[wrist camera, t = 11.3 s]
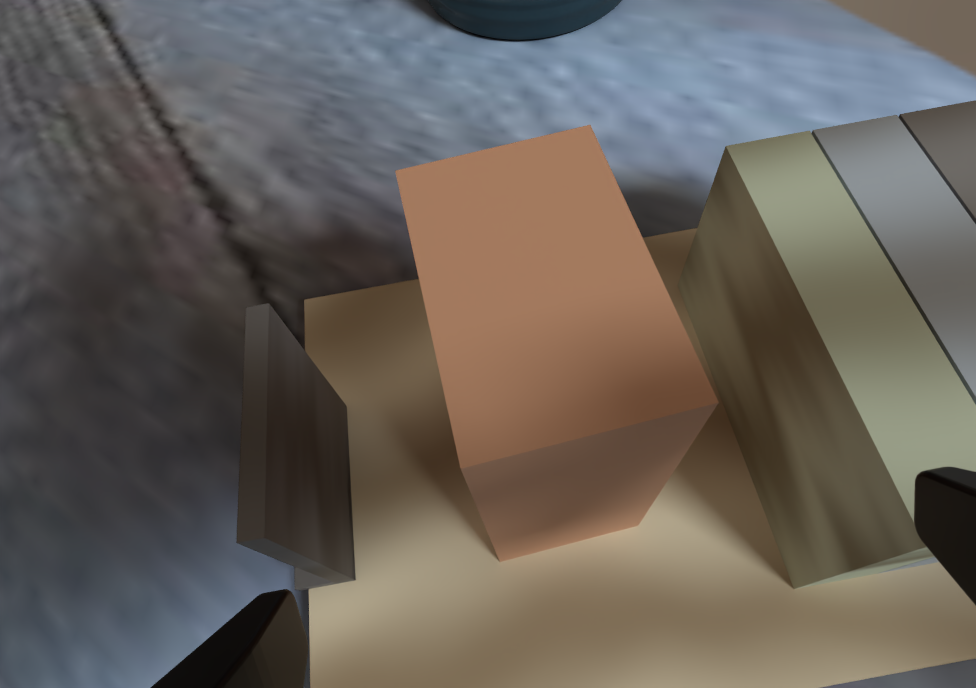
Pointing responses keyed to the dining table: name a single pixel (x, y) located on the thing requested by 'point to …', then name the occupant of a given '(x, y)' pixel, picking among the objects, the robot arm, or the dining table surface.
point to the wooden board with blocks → (698, 477)
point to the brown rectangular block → (551, 340)
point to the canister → (522, 16)
